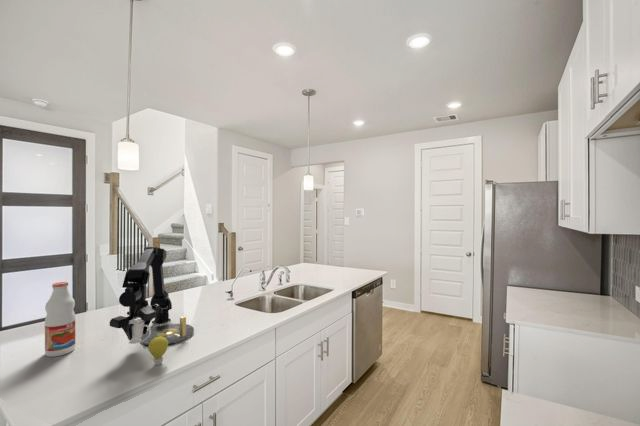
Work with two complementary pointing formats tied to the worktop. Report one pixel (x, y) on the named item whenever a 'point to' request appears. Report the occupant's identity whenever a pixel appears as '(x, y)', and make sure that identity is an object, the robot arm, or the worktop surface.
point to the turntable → (170, 332)
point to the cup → (138, 331)
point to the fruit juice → (59, 322)
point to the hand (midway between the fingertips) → (137, 336)
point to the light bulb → (158, 349)
